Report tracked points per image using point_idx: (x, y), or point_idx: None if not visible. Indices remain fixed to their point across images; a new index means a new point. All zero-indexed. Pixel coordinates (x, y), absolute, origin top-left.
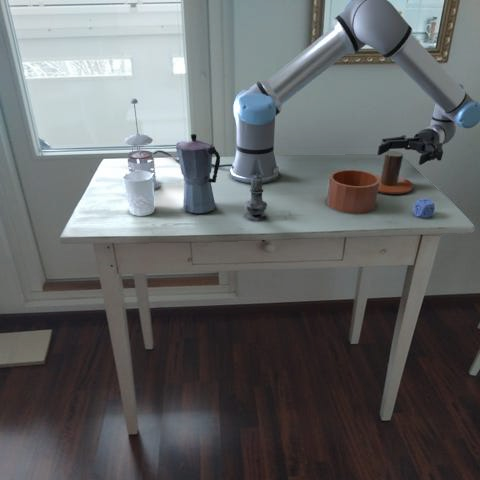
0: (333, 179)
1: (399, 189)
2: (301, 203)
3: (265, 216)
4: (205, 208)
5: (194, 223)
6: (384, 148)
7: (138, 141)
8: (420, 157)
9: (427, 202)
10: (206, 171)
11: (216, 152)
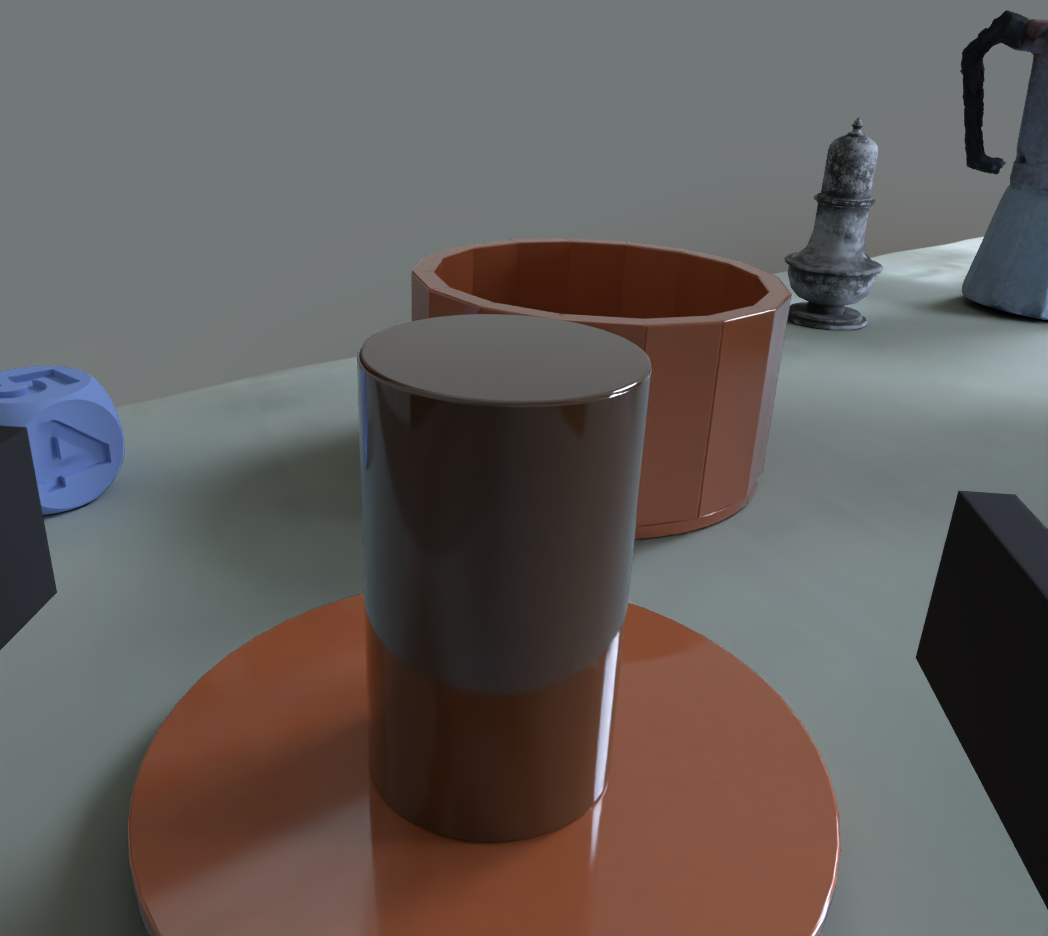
0: (692, 253)
1: (299, 659)
2: (807, 398)
3: (795, 320)
4: (968, 276)
5: (909, 278)
6: (1013, 685)
7: None
8: (27, 465)
9: (15, 387)
10: (1021, 131)
11: (985, 31)
